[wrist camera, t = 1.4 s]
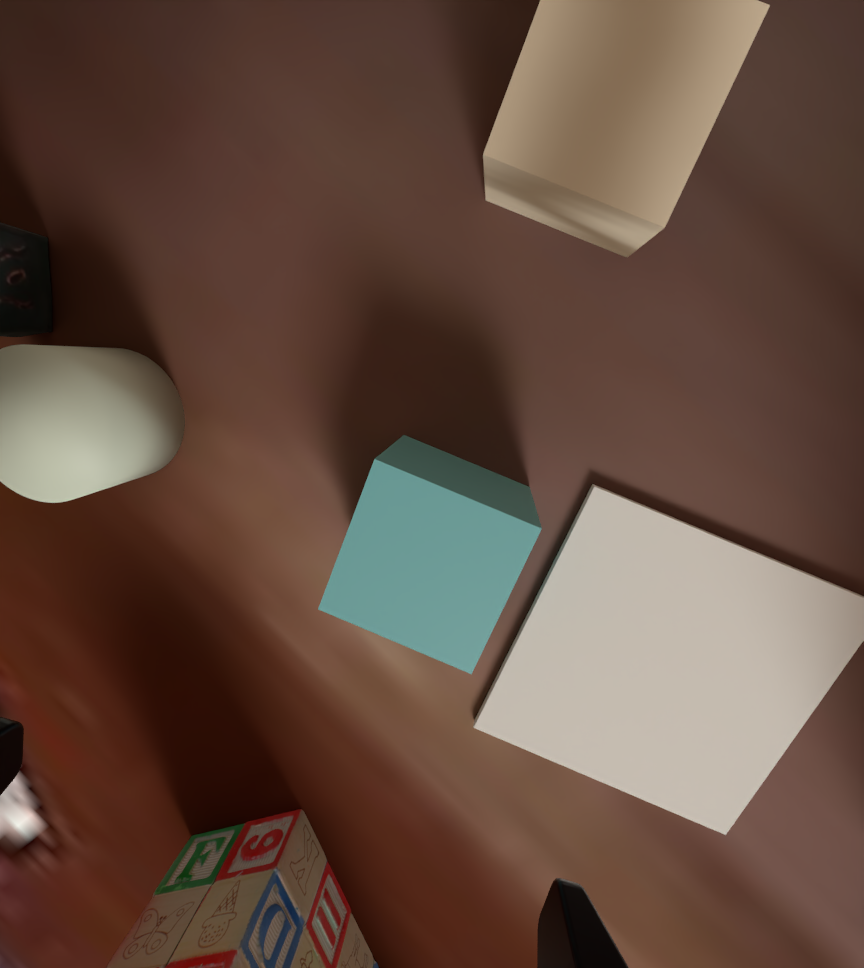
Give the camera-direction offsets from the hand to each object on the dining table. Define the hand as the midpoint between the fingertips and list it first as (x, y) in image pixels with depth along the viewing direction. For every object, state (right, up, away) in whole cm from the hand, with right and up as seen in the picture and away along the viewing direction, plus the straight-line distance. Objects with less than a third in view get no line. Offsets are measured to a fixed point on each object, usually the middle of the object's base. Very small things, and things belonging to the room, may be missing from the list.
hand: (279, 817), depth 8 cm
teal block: (+3, +4, +11) cm, 12 cm away
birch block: (+7, +16, +8) cm, 19 cm away
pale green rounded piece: (-10, +8, +12) cm, 17 cm away
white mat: (+11, -2, +12) cm, 16 cm away
